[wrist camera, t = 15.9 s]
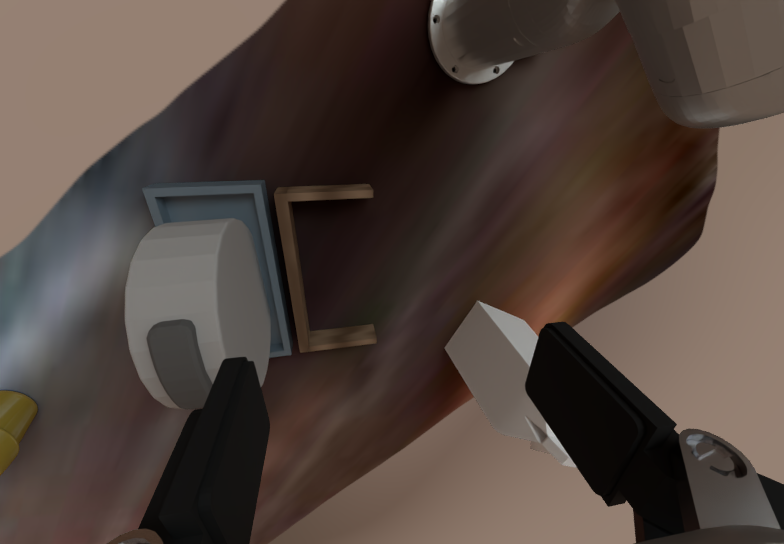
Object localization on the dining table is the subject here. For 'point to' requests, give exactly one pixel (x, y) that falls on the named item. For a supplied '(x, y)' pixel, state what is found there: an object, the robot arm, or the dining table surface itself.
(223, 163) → the dining table surface
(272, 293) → the slate tray
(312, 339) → the walnut stall
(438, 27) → the robot arm
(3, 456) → the plant pot
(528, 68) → the dining table surface
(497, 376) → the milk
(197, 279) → the alarm clock
